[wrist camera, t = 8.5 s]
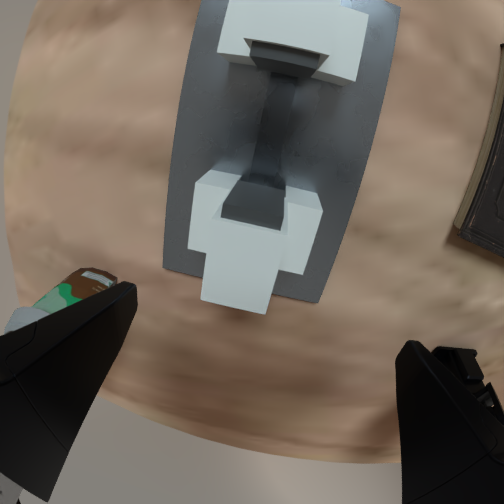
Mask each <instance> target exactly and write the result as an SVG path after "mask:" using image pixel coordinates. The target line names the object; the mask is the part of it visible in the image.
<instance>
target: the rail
mask: <svg viewBox="0 0 504 504" xmlns="http://www.w3.org/2000/svg"><path fill="white" fill-rule="evenodd" d="M228 3H229V0H202V1H201V5H200V9H199V12H198V16H197V20H196V24H195V28H194V33H193V37H192V41H191V46H190V50H189V55H188V60H187V65H186V70H185V75H184V80H183V85H182V91H181V96H180V102H179V108H178V115H177V121H176V128H175V135H174V142H173V150H172V158H171V166H170V175H169V184H168V195H167V206H166V218H165V232H164V249H163V268H165V269H169V270H173V271H177V272H181V273H185V274H189V275H193V276H198V277H202V278H203V275H204V268H205V260H206V253H204V252H199V251H195V250H191V249H188V239H189V230H190V221H191V213H192V205H193V197H194V189H195V182H197V181H198V180H199V179H200V178H201V177H202V176H204V175H205V174H206V173H207V172H208V171H209V170H215V171H220V172H225V173H230V174H235V175H240V176H241V181H245V182H249V183H254V184H258V185H263V186H267V187H272V188H276V189H280V190H285V187H286V186H290V187H294V188H298V189H302V190H306V191H310V192H314V193H317V195H318V197H319V200H320V203H321V206H322V209H323V213H322V216H321V219H320V223H319V226H318V229H317V232H316V235H315V239H314V242H313V245H312V248H311V251H310V254H309V257H308V260H307V264H306V267H305V270H304V273H303V275H301V274H296V273H292V272H287V271H283V270H278V273H277V276H276V280H275V283H274V286H273V290H272V293H271V294H276V295H281V296H285V297H290V298H295V299H299V300H304V301H309V302H314V303H318V302H319V300H320V297H321V295H322V292H323V290H324V287H325V285H326V282H327V279H328V277H329V274H330V271H331V269H332V266H333V263H334V261H335V258H336V255H337V253H338V250H339V247H340V244H341V241H342V239H343V236H344V233H345V230H346V227H347V224H348V221H349V218H350V215H351V212H352V209H353V206H354V203H355V200H356V197H357V193H358V190H359V187H360V184H361V181H362V177H363V174H364V171H365V167H366V164H367V160H368V157H369V153H370V150H371V146H372V142H373V139H374V135H375V131H376V127H377V123H378V119H379V115H380V111H381V107H382V103H383V99H384V95H385V90H386V86H387V81H388V77H389V72H390V67H391V62H392V57H393V52H394V46H395V41H396V35H397V29H398V22H399V16H400V9H401V7H399V6H396V5H394V4H392V3H389V2H387V1H384V0H341V4H340V5H341V6H344V7H347V8H351V9H354V10H357V11H360V12H363V13H366V14H369V17H368V23H367V28H366V33H365V38H364V44H363V48H362V53H361V58H360V63H359V68H358V72H357V77H356V81H355V82H353V83H350V84H348V85H345V86H340V85H337V84H333V83H330V82H326V81H322V80H319V79H315V78H310V79H309V80H308V79H303V78H299V77H295V76H290V75H286V74H281V73H276V72H271V71H266V70H260V69H258V67H257V66H253V65H247V64H240V63H233V62H228V61H227V60H226V59H225V58H223V57H222V56H221V55H219V54H218V53H217V49H218V44H219V40H220V36H221V31H222V27H223V23H224V19H225V15H226V11H227V7H228Z"/></svg>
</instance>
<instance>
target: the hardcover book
mask: <svg viewBox="0 0 504 504" xmlns="http://www.w3.org/2000/svg"><path fill="white" fill-rule="evenodd" d="M500 46H501V47H502V57H501V64H500V71H499V77H498V83H497V88H496V93H495V98H494V103H493V107H492V111H491V116H490V120H489V124H488V127H487V131H486V135H485V138H484V142H483V145H482V148H481V151H480V155H479V158H478V161H477V164H476V167H475V170H474V173H473V175H472V178H471V181H470V184H469V186H468V189H467V191H466V194H465V197H464V199H463V202H462V204H461V206H460V209H459V211H458V214H457V216H456V218H455V220H454V223H453V224H454V225H455V226H456V227H457V228H459V229H460V230H459V232H458V234H457V235H458V236H459V237H461V238H463V239H465V240H467V241H470V242H472V243H474V244H476V245H478V246H480V247H483V248H485V249H487V250H489V251H491V252H493V253H495V254H497V255H499V256H501V257H503V258H504V44H500Z"/></svg>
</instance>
